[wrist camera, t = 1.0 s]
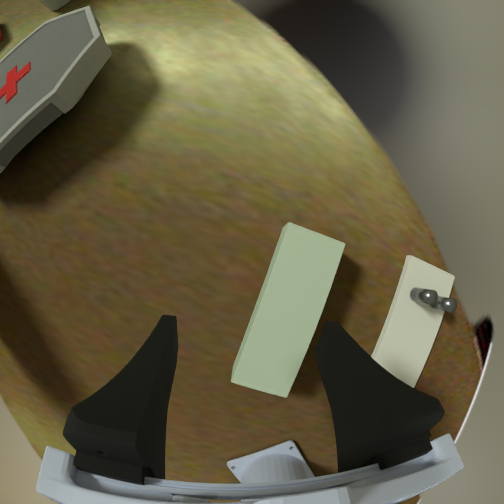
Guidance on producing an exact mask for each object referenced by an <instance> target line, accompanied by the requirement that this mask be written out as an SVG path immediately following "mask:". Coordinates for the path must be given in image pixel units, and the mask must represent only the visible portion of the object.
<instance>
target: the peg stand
mask: <svg viewBox="0 0 504 504" xmlns="http://www.w3.org/2000/svg"><path fill="white" fill-rule="evenodd" d="M454 278H455V276H453V275H451V274H449V273H447V272H445V271H443V270H441V269H439V268H437V267H435V266H433V265H430V264H428V263H426V262H424V261H422V260H420V259H418V258H416V257H413V256H411V255H407V256H406V260H405V264H404V267H403V270H402V274H401V277H400V280H399V283H398V287H397V290H396V293H395V296H394V299H393V302H392V304H391V307H390V310H389V313H388V316H387V318H386V321H385V324H384V326H383V329H382V332H381V334H380V337H379V339H378V342H377V344H376V346H375V349H374V351H373V354H372V356H371V357H372V358H373V359H374V360H375V361H376V362H377V363H378V364H380V365H381V366H382V367H383V368H384V369H386V370H387V371H388V372H390V373H391V374H392V375H394V376H395V377H397V378H398V379H400V380H401V381H403V382H404V383H406V384H408V385H409V386H411V387H413V388H414V387H415V385H416V382H417V380H418V378H419V376H420V374H421V372H422V369H423V367H424V365H425V363H426V360H427V358H428V355H429V353H430V351H431V348H432V345H433V343H434V340H435V338H436V335H437V332H438V330H439V327H440V324H441V321H442V318H443V315H444V312H445V311H446V312H450V313H452V312H454V311H455V310H456V307H457V301H456V300H455V299H453V298H449V296H450V292H451V289H452V285H453V282H454Z"/></svg>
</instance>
